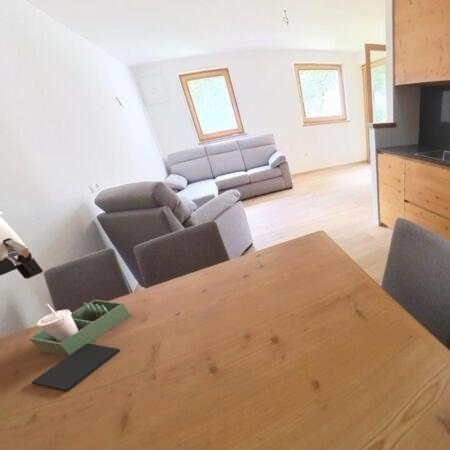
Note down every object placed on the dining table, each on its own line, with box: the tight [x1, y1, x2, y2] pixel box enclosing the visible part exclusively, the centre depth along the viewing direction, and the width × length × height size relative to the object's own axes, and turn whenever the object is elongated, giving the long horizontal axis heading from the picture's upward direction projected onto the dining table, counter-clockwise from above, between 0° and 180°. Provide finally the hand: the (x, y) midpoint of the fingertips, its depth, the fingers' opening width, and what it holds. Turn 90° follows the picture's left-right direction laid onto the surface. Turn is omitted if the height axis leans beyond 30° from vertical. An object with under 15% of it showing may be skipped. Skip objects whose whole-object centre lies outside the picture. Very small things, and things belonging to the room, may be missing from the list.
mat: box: [31, 343, 121, 393], centre depth 74 cm, size 12×12×1 cm
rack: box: [28, 299, 131, 357], centre depth 84 cm, size 12×16×7 cm
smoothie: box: [36, 303, 79, 343], centre depth 79 cm, size 6×6×14 cm
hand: (21, 273), depth 71 cm, fingers open, 9 cm apart
